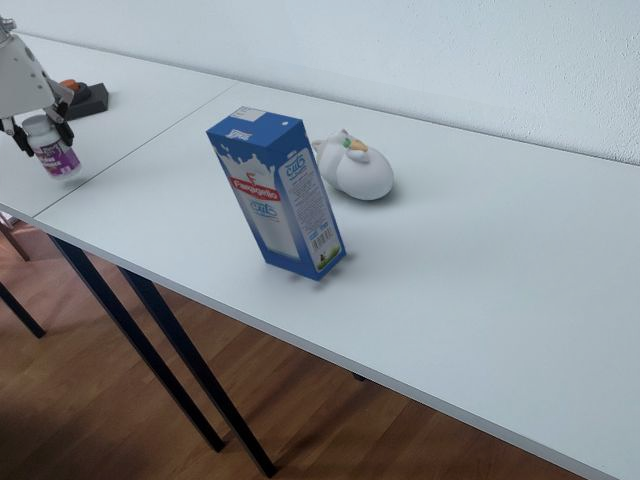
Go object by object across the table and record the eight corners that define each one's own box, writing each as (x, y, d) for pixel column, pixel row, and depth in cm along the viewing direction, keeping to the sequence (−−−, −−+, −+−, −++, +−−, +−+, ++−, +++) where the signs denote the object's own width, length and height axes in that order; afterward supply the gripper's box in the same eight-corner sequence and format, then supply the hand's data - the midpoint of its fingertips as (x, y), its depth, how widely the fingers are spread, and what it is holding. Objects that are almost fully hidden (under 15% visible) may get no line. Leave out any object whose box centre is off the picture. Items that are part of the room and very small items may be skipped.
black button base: (51, 125, 128) (39, 106, 125) (55, 106, 134) (43, 88, 131) (107, 110, 129) (96, 91, 126) (108, 92, 135) (98, 73, 132)
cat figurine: (387, 143, 88) (312, 108, 94) (357, 193, 88) (285, 155, 94) (416, 175, 97) (346, 141, 103) (389, 220, 97) (320, 183, 103)
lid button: (61, 97, 127) (55, 89, 126) (62, 90, 130) (57, 82, 128) (79, 92, 128) (74, 84, 127) (80, 85, 130) (75, 77, 129)
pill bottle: (47, 184, 107) (11, 131, 100) (56, 167, 111) (21, 115, 104) (79, 178, 107) (45, 125, 100) (87, 161, 111) (55, 109, 104)
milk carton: (265, 262, 89) (204, 131, 74) (294, 236, 92) (242, 105, 78) (318, 281, 85) (265, 146, 70) (347, 254, 88) (302, 119, 73)
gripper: (42, 12, 96) (105, 124, 110) (-80, 40, 93) (0, 151, 107) (38, 30, 91) (104, 144, 105) (-91, 60, 88) (-6, 173, 102)
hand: (51, 147), depth 106 cm, fingers closed on pill bottle, 5 cm apart
